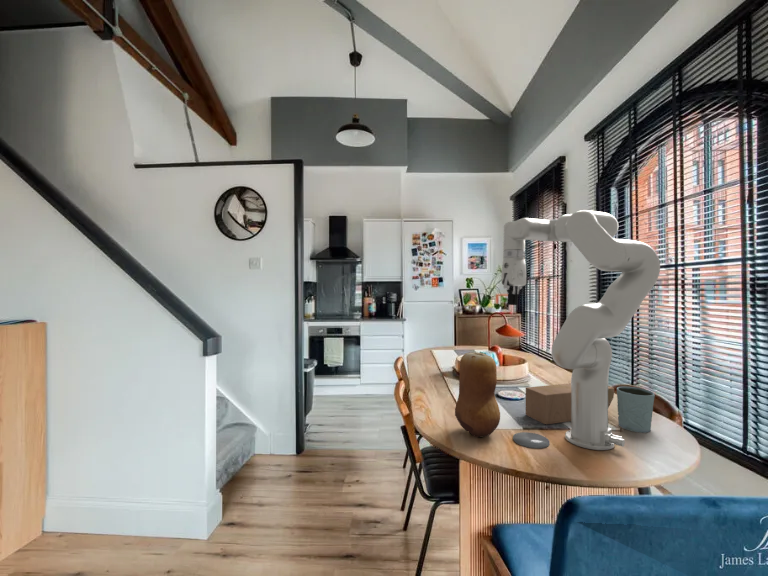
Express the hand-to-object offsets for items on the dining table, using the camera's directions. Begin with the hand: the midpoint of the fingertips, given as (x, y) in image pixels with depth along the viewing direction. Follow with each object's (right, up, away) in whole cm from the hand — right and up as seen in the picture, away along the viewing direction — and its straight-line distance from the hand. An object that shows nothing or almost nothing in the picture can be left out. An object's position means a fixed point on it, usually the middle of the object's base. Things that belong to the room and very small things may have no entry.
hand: (512, 304), depth 135 cm
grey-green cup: (+34, -39, -17) cm, 55 cm away
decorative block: (+4, -34, -11) cm, 36 cm away
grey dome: (-4, -39, -28) cm, 48 cm away
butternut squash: (-19, -39, -23) cm, 49 cm away
